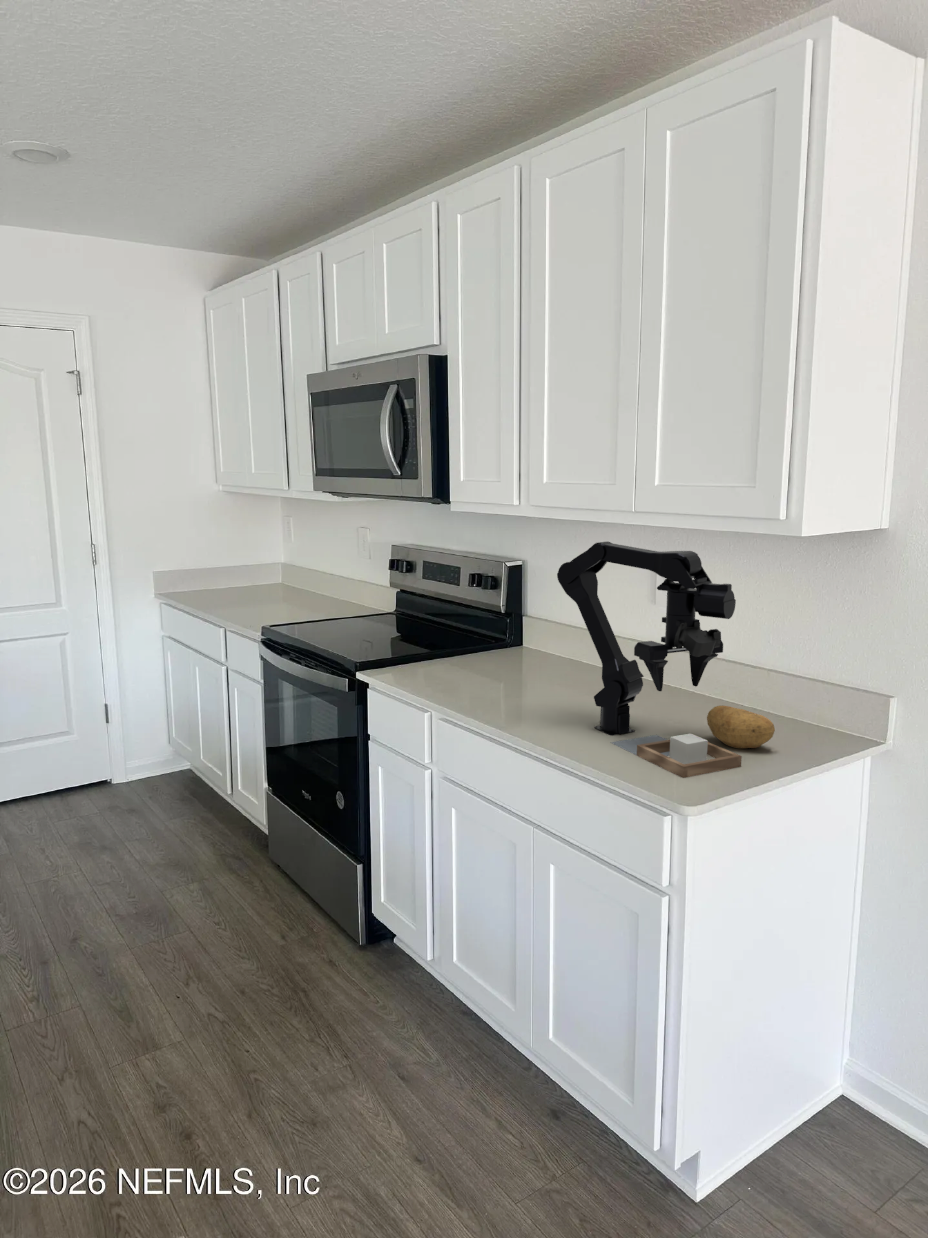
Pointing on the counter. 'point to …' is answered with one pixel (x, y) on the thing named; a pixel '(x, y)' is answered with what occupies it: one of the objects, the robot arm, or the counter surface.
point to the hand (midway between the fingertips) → (677, 688)
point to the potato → (739, 727)
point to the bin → (721, 762)
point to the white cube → (688, 748)
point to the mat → (632, 743)
